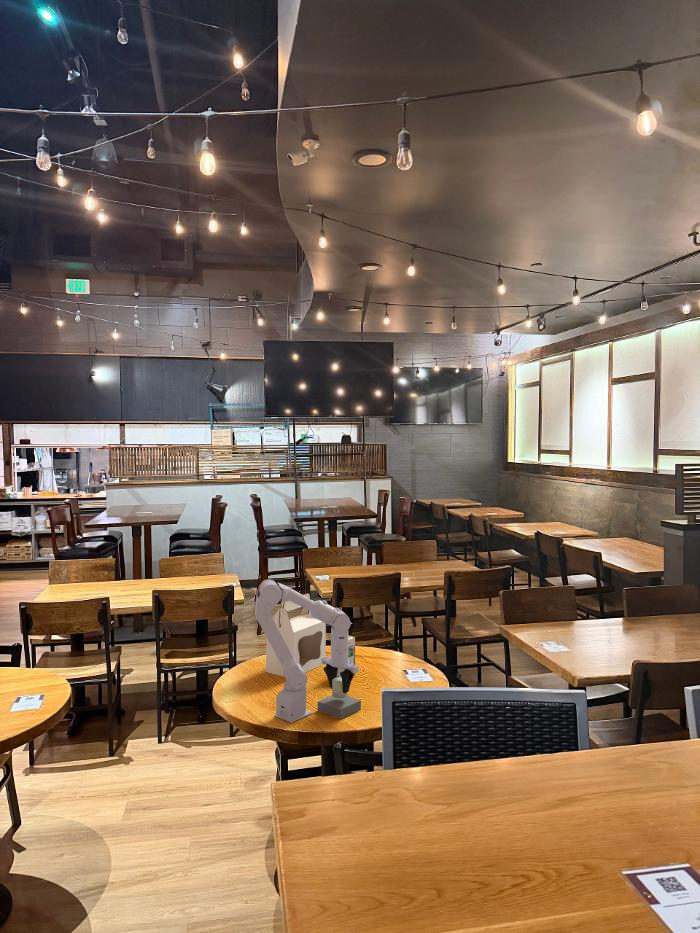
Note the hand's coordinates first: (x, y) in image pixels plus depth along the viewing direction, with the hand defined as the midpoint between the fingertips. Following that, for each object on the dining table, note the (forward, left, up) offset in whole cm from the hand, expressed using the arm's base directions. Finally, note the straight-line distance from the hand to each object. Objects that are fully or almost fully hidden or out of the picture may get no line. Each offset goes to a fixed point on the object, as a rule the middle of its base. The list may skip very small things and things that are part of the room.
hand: (339, 690), depth 201 cm
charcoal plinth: (0, 0, -6) cm, 6 cm away
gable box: (+20, +40, -7) cm, 46 cm away
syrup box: (+26, +20, -7) cm, 34 cm away
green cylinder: (0, 0, -2) cm, 2 cm away
